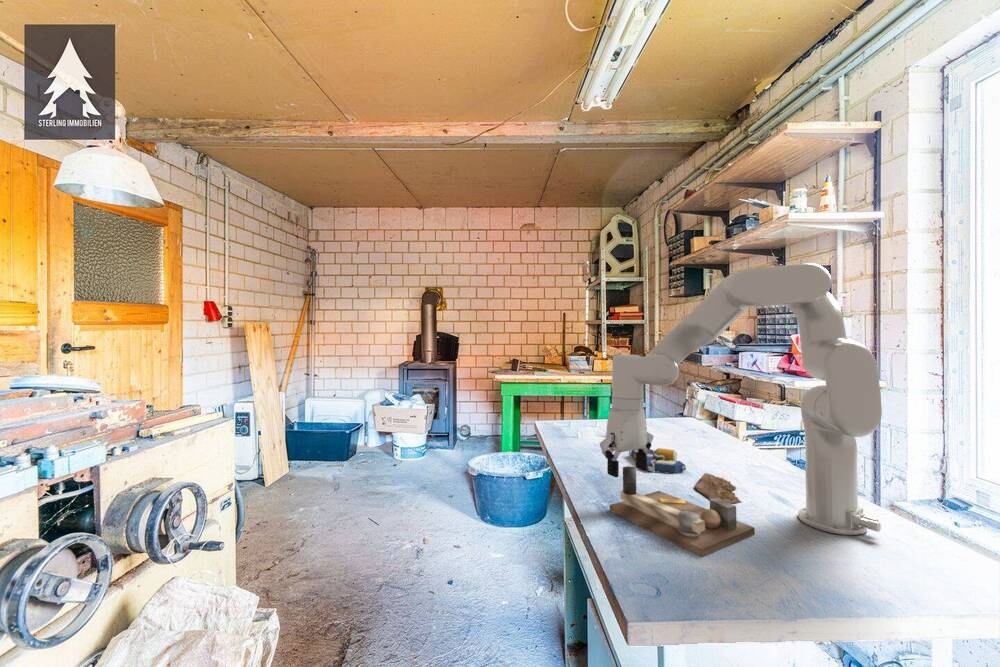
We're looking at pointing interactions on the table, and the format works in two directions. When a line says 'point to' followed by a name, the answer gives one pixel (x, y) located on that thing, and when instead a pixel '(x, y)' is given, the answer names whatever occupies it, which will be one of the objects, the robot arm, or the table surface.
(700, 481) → the wooden fragment
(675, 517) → the lever
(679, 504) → the press board
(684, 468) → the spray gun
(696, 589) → the table surface
